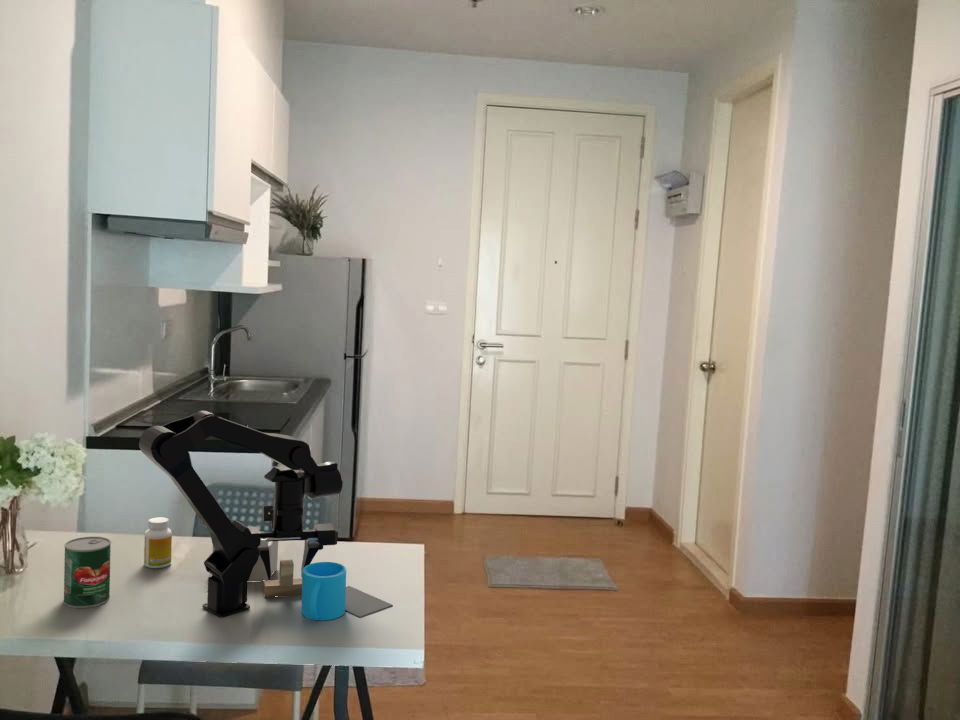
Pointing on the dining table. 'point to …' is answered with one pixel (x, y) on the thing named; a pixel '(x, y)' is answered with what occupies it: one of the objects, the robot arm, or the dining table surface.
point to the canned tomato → (87, 572)
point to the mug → (323, 590)
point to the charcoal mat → (362, 602)
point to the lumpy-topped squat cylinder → (259, 568)
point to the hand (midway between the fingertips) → (286, 578)
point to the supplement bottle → (157, 543)
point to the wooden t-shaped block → (284, 582)
